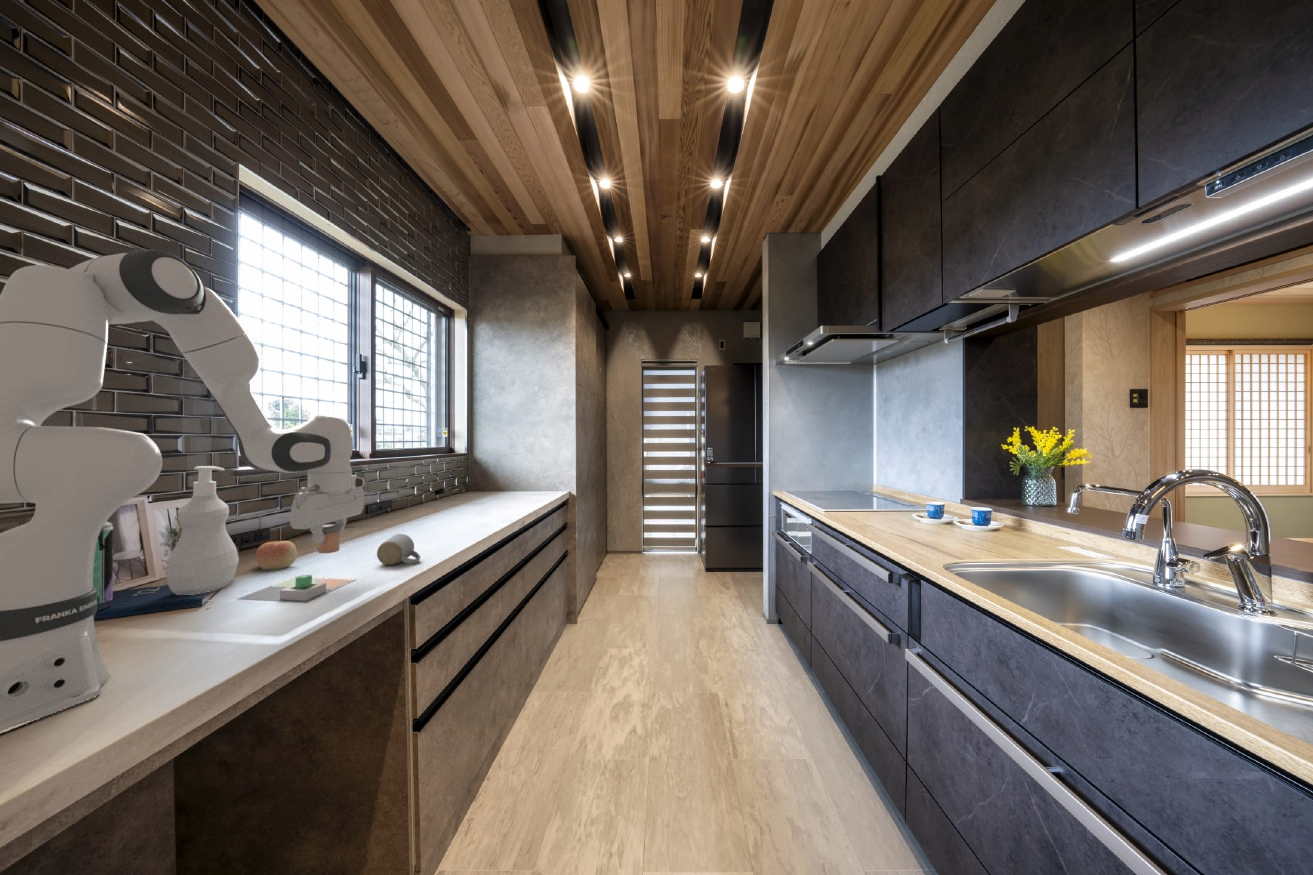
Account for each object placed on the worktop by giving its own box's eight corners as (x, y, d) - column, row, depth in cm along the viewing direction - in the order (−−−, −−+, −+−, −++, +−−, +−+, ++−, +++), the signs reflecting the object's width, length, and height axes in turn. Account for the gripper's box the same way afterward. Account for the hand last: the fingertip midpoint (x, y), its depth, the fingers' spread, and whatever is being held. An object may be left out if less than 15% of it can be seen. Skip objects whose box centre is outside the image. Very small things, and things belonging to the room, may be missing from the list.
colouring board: (306, 607, 105) (306, 593, 105) (236, 604, 106) (236, 589, 106) (356, 584, 121) (356, 571, 121) (295, 581, 122) (295, 568, 122)
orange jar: (330, 553, 115) (331, 528, 115) (312, 552, 115) (312, 527, 115) (344, 548, 120) (344, 524, 120) (326, 547, 120) (326, 523, 120)
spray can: (120, 604, 104) (120, 512, 104) (87, 614, 99) (88, 516, 98) (97, 603, 105) (98, 510, 104) (64, 612, 99) (65, 515, 99)
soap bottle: (215, 602, 107) (216, 469, 106) (147, 607, 103) (149, 469, 102) (250, 579, 123) (252, 463, 122) (193, 582, 119) (194, 463, 118)
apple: (255, 577, 125) (255, 546, 124) (255, 568, 131) (256, 539, 131) (297, 571, 130) (297, 542, 130) (295, 563, 137) (296, 535, 137)
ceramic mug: (374, 566, 137) (375, 539, 136) (387, 558, 145) (388, 533, 145) (413, 567, 138) (414, 540, 137) (424, 559, 146) (425, 534, 146)
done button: (304, 589, 108) (304, 579, 108) (291, 589, 108) (292, 578, 108) (315, 585, 111) (315, 575, 111) (302, 584, 111) (302, 574, 111)
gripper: (309, 489, 107) (308, 551, 107) (369, 479, 127) (368, 531, 127) (282, 488, 107) (281, 550, 107) (345, 478, 127) (345, 530, 128)
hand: (329, 539), depth 118 cm, fingers closed on orange jar, 4 cm apart
